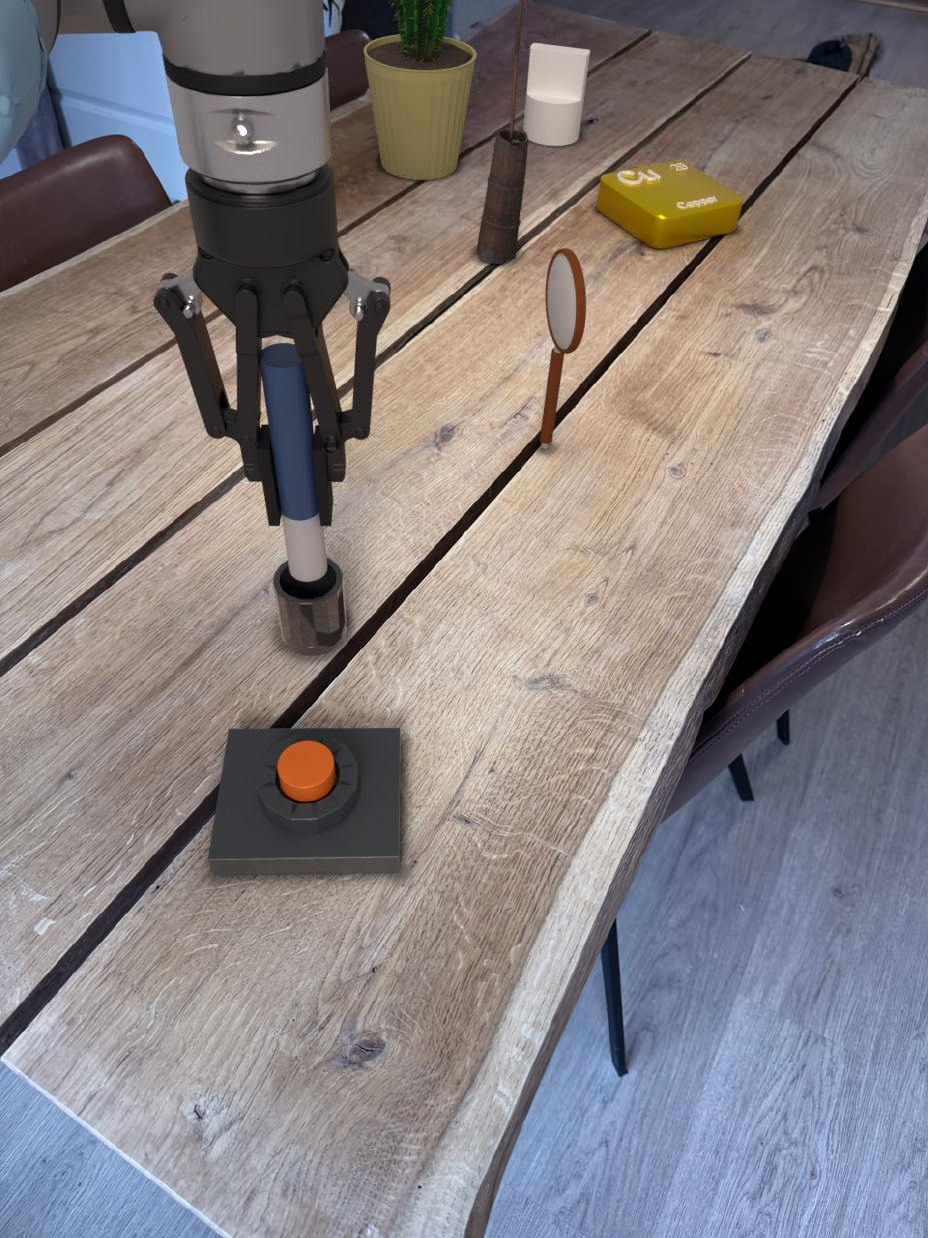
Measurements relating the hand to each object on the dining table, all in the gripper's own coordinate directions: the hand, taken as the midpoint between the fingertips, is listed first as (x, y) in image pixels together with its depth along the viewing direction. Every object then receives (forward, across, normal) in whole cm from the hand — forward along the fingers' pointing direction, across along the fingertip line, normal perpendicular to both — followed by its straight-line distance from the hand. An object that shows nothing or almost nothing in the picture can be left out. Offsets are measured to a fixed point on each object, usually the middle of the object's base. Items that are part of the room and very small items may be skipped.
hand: (301, 512), depth 63 cm
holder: (+13, 0, 0) cm, 13 cm away
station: (+13, +1, -16) cm, 20 cm away
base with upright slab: (+13, +30, +105) cm, 110 cm away
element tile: (+13, +43, +76) cm, 88 cm away
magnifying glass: (+13, +21, +24) cm, 34 cm away
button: (+9, +1, -16) cm, 18 cm away
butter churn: (+13, +19, +63) cm, 67 cm away
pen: (+6, 0, 0) cm, 6 cm away
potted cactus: (+13, +9, +92) cm, 93 cm away
